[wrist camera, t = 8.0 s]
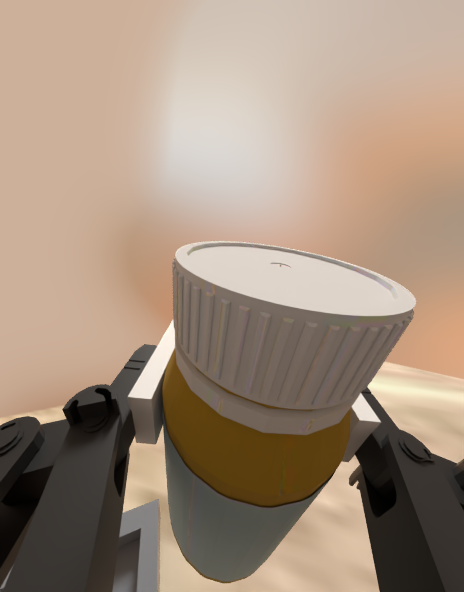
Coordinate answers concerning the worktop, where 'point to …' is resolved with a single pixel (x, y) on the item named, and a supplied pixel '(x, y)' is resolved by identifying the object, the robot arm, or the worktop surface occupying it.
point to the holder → (137, 551)
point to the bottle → (264, 390)
